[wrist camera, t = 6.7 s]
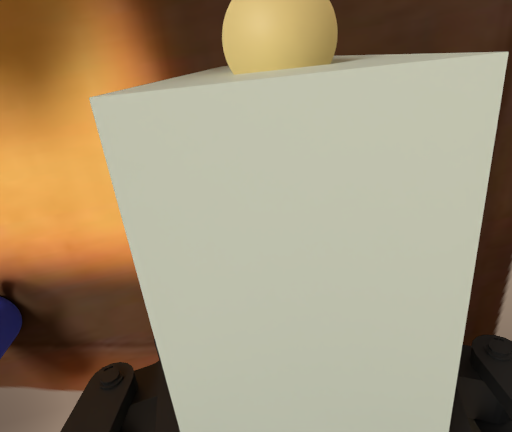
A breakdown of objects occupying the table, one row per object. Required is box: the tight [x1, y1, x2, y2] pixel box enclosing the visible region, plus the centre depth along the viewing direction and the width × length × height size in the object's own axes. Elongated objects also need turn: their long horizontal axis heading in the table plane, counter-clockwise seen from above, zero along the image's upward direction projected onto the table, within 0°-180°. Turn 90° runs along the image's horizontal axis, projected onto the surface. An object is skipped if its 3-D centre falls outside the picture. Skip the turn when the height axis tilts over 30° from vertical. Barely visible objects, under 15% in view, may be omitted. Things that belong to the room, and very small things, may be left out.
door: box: [89, 0, 509, 432], centre depth 13 cm, size 18×5×14 cm, turn 6°
